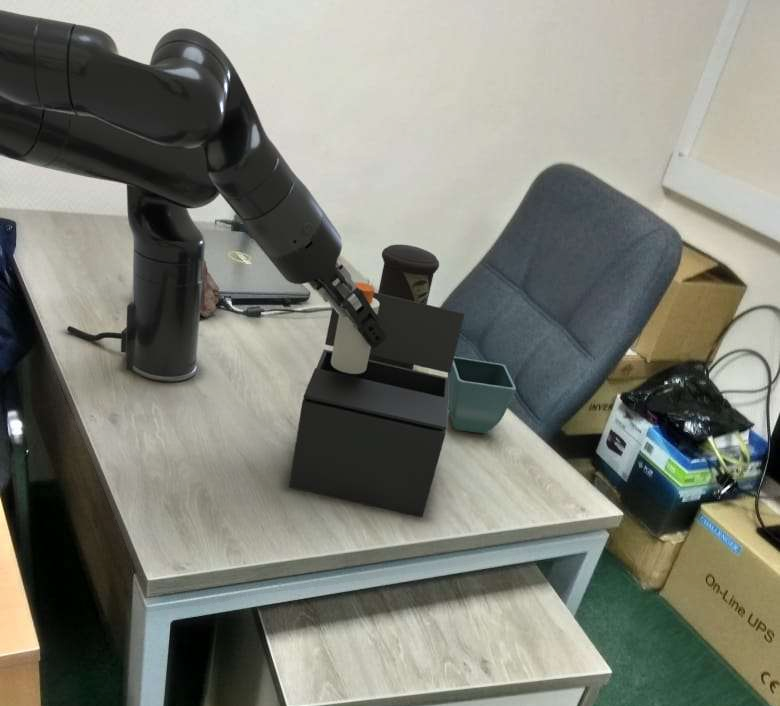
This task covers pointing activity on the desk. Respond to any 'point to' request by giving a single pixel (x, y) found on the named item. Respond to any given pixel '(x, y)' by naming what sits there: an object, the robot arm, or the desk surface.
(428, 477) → the carton
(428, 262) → the container
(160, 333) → the robot arm
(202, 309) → the mineral specimen
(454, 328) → the flap
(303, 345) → the desk surface
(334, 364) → the orange-capped white cylinder
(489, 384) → the flower pot
